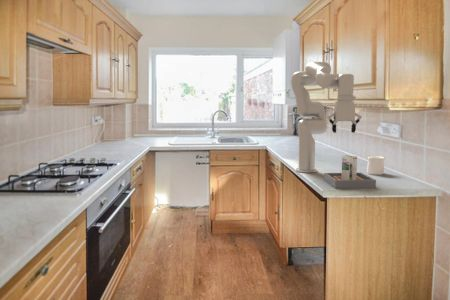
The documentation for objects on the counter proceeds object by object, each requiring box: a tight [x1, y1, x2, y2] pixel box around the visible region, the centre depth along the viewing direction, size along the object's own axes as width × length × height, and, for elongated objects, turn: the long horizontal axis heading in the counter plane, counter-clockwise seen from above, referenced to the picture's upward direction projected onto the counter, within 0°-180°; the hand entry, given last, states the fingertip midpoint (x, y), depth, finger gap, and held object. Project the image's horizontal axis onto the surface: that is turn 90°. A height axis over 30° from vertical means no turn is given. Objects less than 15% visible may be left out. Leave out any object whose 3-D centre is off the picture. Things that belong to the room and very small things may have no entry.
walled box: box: [323, 172, 377, 189], centre depth 210 cm, size 20×20×4 cm
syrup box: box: [341, 154, 358, 180], centre depth 210 cm, size 6×6×14 cm
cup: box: [366, 155, 385, 176], centre depth 238 cm, size 10×10×10 cm
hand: (343, 132), depth 209 cm, fingers open, 9 cm apart
